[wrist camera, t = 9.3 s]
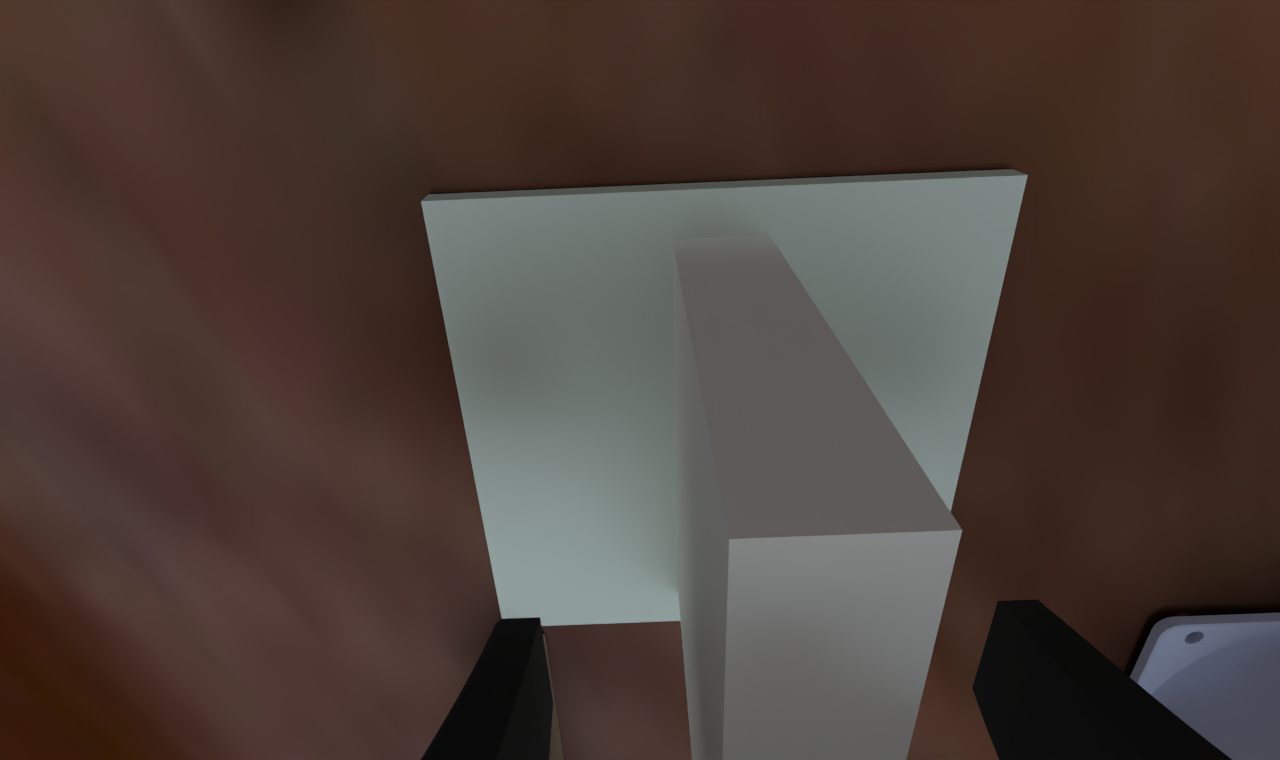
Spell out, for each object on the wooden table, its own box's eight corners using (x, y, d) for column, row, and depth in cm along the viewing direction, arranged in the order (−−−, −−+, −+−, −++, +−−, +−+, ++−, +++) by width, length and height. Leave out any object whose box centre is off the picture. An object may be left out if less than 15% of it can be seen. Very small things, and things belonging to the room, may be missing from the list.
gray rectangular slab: (769, 234, 14) (962, 530, 6) (751, 591, 18) (841, 1024, 10) (672, 239, 14) (729, 539, 6) (678, 594, 18) (714, 1028, 10)
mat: (1012, 169, 14) (1027, 174, 13) (919, 595, 19) (927, 611, 19) (428, 194, 14) (420, 201, 13) (506, 610, 19) (503, 627, 19)
